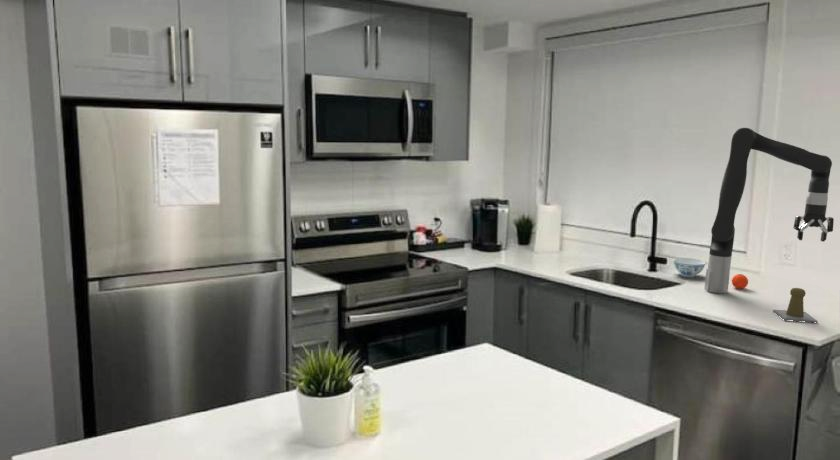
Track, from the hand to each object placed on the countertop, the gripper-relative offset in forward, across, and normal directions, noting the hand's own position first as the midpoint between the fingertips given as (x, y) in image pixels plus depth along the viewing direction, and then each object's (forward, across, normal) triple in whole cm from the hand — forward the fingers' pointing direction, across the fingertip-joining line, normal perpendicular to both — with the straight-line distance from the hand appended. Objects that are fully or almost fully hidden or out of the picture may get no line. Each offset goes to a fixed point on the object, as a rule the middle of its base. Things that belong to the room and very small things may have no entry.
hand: (811, 240), depth 258 cm
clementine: (+28, -20, +20) cm, 40 cm away
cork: (+27, -11, -22) cm, 37 cm away
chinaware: (+28, -39, +39) cm, 62 cm away
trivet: (+28, -11, -22) cm, 37 cm away
